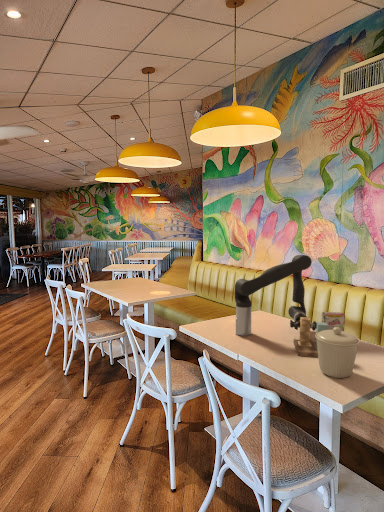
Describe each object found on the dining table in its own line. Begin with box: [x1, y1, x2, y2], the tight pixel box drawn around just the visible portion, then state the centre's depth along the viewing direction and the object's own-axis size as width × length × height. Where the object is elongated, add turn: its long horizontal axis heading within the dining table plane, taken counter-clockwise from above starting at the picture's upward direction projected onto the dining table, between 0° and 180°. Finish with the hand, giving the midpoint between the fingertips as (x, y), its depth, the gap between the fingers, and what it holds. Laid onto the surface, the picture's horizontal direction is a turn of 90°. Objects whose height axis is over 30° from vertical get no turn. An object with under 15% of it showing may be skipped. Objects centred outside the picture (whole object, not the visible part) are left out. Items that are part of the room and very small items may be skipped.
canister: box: [314, 327, 361, 379], centre depth 147 cm, size 18×18×21 cm
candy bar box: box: [321, 311, 346, 331], centre depth 186 cm, size 11×5×16 cm, turn 84°
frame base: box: [292, 321, 328, 358], centre depth 174 cm, size 16×18×16 cm
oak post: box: [299, 316, 311, 345], centre depth 177 cm, size 4×4×14 cm
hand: (305, 328), depth 175 cm, fingers open, 8 cm apart
